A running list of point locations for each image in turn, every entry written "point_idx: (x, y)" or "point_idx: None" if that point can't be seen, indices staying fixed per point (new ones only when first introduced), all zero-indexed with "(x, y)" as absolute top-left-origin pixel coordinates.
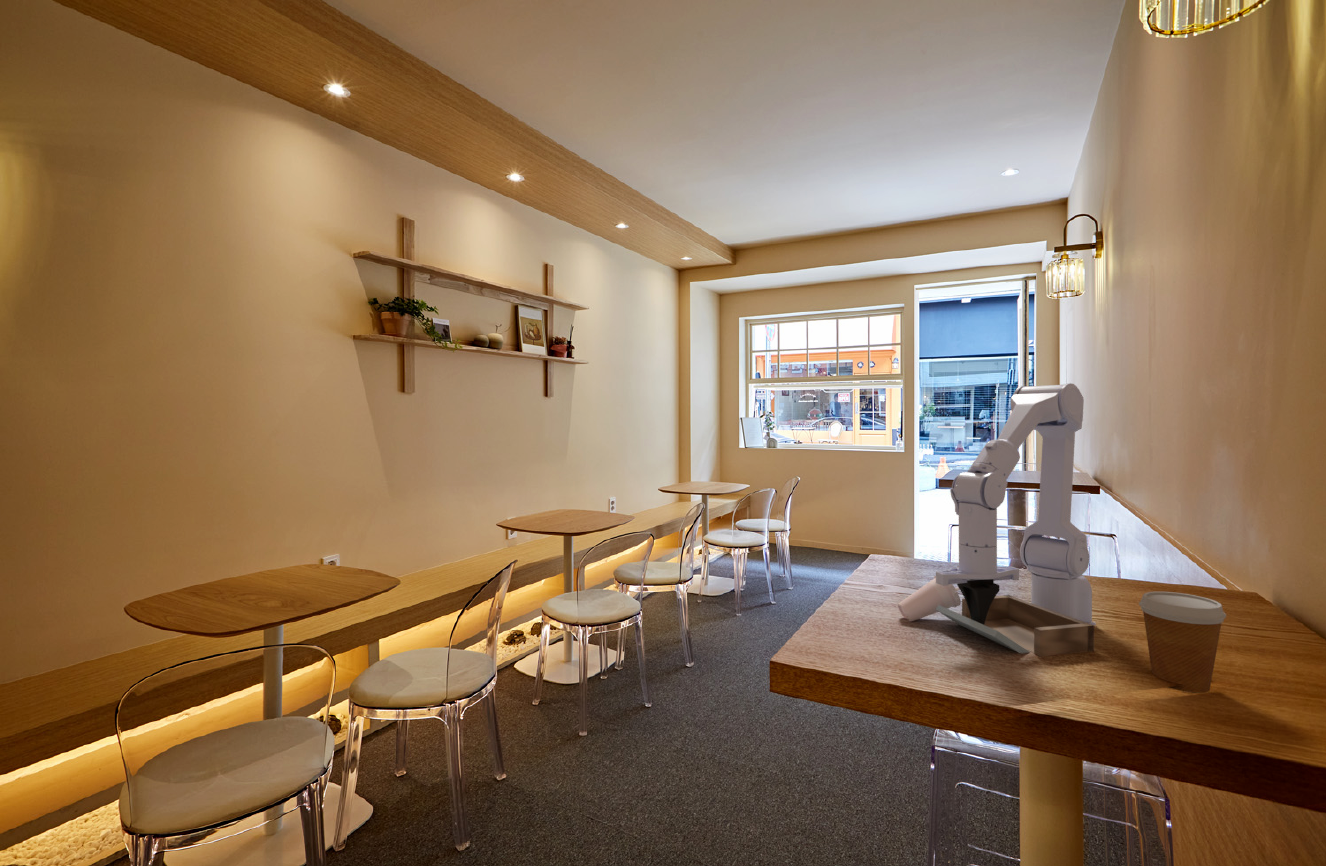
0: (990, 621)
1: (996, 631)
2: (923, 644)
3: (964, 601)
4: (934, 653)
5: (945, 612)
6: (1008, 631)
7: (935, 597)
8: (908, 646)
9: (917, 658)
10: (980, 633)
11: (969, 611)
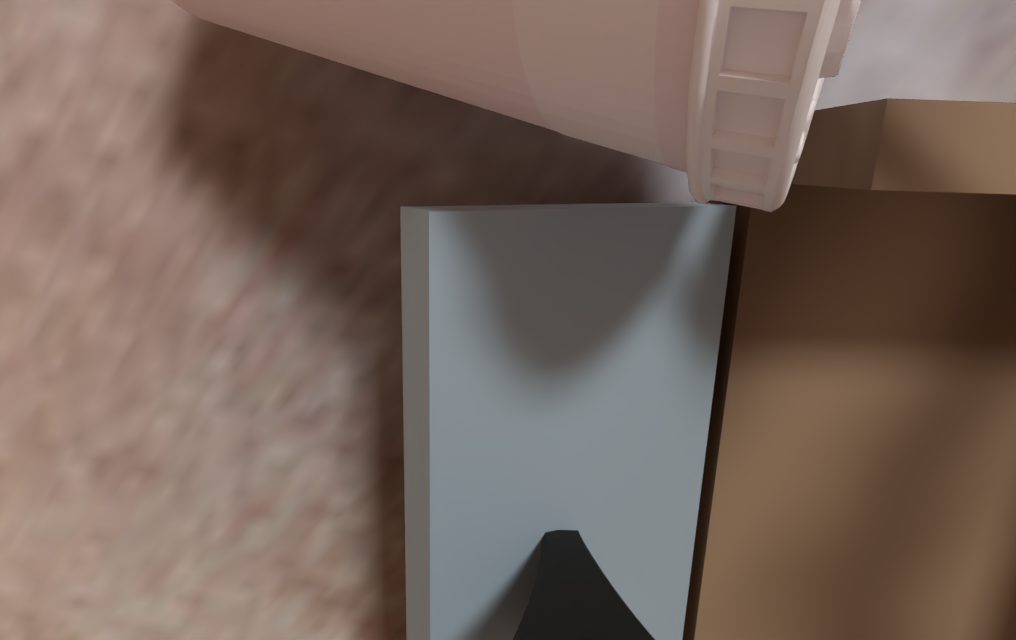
0: (970, 213)
1: None
2: (184, 397)
3: (864, 149)
4: (170, 542)
5: (408, 365)
6: (880, 447)
7: (473, 82)
8: (60, 403)
9: (22, 581)
10: None
11: (534, 584)
